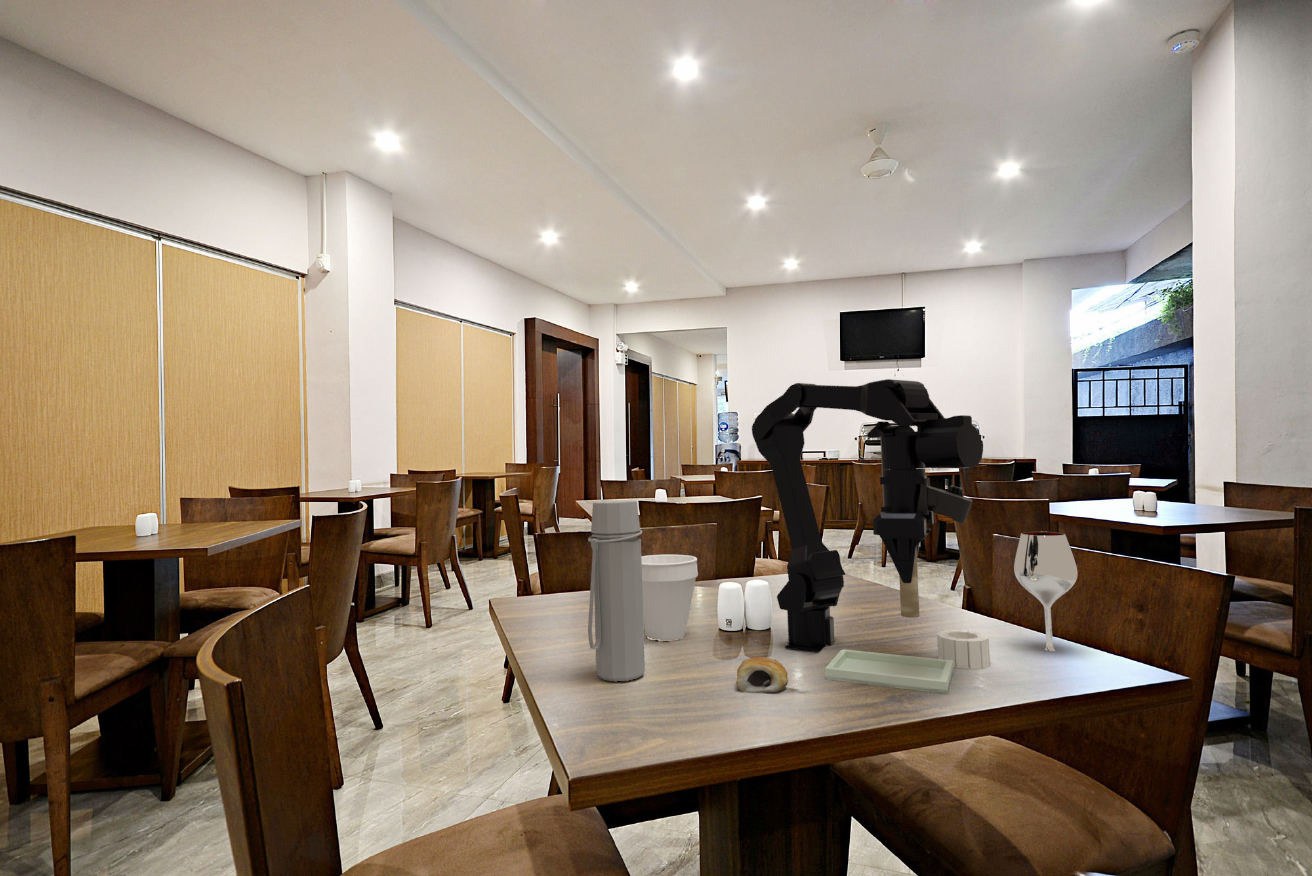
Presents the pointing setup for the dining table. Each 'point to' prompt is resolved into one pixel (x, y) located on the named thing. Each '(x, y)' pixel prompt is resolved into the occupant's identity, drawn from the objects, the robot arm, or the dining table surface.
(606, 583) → the water bottle
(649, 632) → the cup
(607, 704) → the dining table surface
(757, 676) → the pastry
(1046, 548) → the wineglass
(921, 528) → the robot arm
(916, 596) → the dowel
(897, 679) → the tray
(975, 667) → the holder
